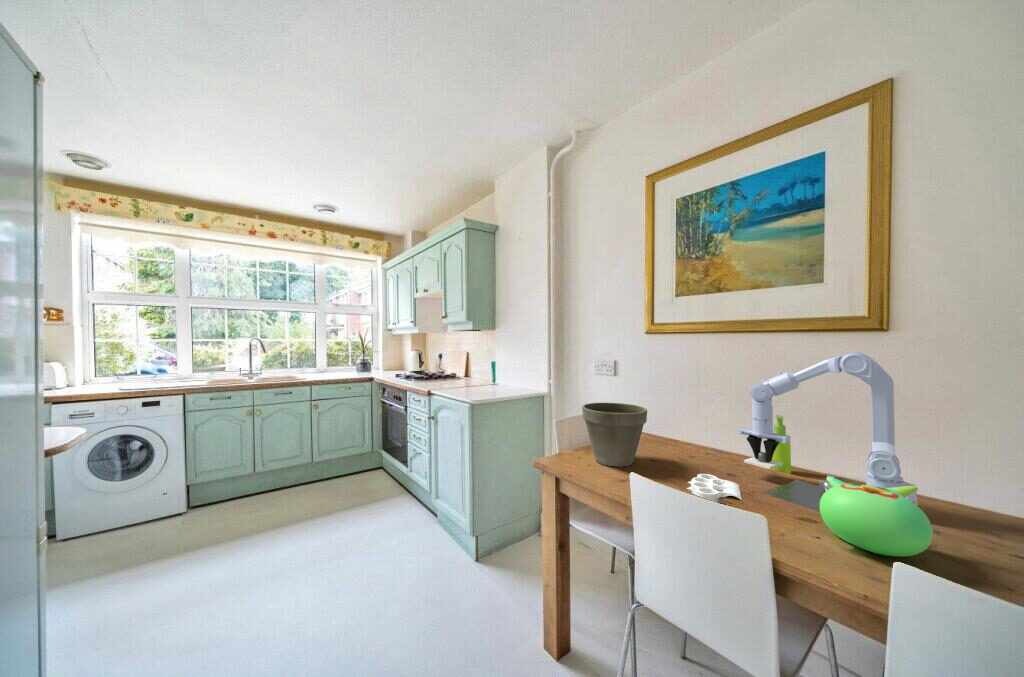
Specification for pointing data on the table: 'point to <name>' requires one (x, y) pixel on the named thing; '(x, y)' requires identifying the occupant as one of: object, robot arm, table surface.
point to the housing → (799, 494)
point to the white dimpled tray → (713, 488)
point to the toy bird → (876, 518)
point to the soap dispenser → (782, 448)
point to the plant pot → (614, 431)
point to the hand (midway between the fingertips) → (763, 460)
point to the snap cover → (763, 461)
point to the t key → (825, 483)
